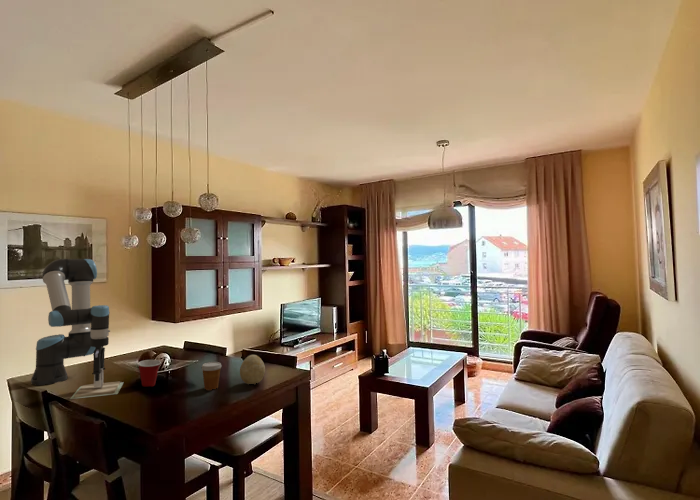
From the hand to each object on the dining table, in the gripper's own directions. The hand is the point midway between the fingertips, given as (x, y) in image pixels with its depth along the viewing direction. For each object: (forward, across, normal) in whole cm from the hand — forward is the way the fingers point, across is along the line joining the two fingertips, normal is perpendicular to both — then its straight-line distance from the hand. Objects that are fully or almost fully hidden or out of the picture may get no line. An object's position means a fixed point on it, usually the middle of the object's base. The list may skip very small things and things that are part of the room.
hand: (98, 385), depth 189 cm
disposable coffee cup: (+3, -16, -51) cm, 54 cm away
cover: (+2, 0, 0) cm, 2 cm away
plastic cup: (+3, 0, -22) cm, 22 cm away
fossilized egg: (+3, -17, -71) cm, 73 cm away
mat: (+3, 0, 0) cm, 3 cm away
